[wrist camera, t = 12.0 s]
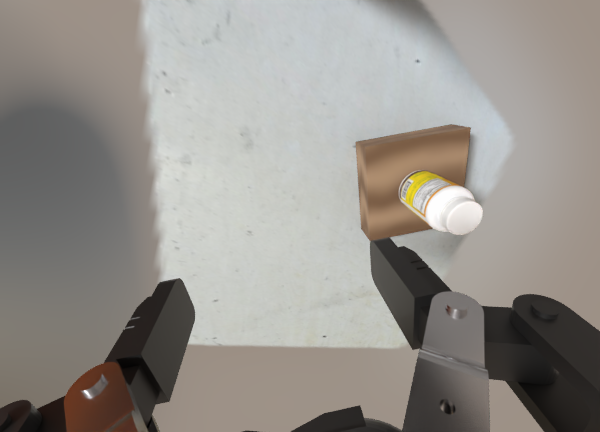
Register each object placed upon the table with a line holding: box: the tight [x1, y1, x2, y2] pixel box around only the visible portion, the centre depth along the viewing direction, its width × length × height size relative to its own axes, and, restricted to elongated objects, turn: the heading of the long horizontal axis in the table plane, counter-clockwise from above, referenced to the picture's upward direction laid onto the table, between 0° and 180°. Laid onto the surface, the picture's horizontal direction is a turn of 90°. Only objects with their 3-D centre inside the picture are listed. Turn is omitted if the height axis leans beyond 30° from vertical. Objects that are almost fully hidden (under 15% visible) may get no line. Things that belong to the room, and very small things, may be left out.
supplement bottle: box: [399, 170, 483, 235], centre depth 33 cm, size 6×6×10 cm
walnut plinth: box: [356, 124, 471, 241], centre depth 39 cm, size 14×14×4 cm
